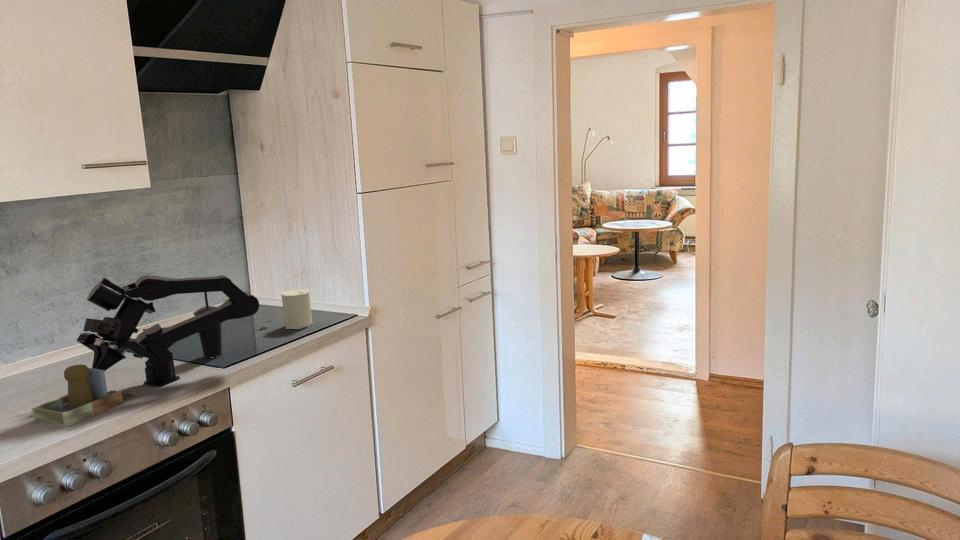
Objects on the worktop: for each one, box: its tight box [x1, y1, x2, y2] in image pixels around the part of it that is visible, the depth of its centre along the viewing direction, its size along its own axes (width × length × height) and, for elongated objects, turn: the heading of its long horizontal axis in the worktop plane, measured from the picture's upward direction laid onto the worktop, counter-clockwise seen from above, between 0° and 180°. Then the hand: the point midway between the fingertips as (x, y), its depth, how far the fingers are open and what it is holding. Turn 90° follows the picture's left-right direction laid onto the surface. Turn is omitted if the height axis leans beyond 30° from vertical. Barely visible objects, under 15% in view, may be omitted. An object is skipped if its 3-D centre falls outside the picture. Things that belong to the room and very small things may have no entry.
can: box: [280, 288, 313, 327], centre depth 232 cm, size 9×9×12 cm
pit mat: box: [107, 390, 135, 401], centre depth 175 cm, size 4×8×1 cm, turn 66°
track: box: [31, 390, 124, 427], centre depth 165 cm, size 15×11×3 cm
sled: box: [58, 367, 108, 413], centre depth 166 cm, size 7×8×9 cm
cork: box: [63, 364, 95, 412], centre depth 165 cm, size 6×6×11 cm
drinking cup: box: [193, 292, 223, 359], centre depth 202 cm, size 8×8×20 cm
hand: (93, 376), depth 169 cm, fingers closed, pressing on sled
